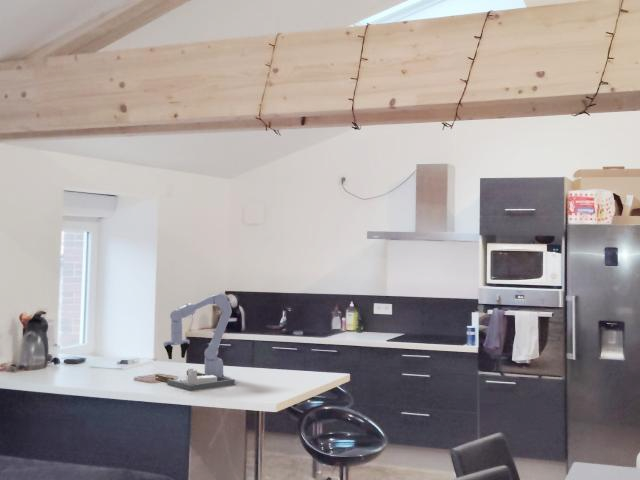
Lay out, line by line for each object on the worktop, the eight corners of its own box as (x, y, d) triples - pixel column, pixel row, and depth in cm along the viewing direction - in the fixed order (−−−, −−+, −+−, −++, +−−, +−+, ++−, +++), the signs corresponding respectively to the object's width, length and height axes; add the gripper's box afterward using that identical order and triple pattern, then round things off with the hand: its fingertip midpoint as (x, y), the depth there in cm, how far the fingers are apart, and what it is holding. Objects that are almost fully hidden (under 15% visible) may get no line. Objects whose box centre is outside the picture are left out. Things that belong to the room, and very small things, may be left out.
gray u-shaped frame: (210, 378, 396) (210, 373, 396) (234, 384, 378) (234, 379, 378) (167, 384, 379) (167, 379, 379) (190, 390, 362) (190, 385, 362)
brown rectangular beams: (189, 374, 407) (189, 370, 407) (205, 378, 395) (205, 374, 395) (155, 379, 394) (155, 374, 394) (170, 383, 382) (170, 378, 382)
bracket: (191, 386, 376) (191, 370, 376) (187, 383, 382) (187, 368, 382) (217, 384, 382) (217, 369, 382) (212, 381, 388) (212, 367, 388)
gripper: (184, 331, 411) (184, 356, 411) (160, 333, 402) (160, 358, 402) (191, 332, 406) (191, 357, 406) (167, 334, 396) (167, 360, 396)
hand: (176, 358), depth 403 cm, fingers open, 7 cm apart
